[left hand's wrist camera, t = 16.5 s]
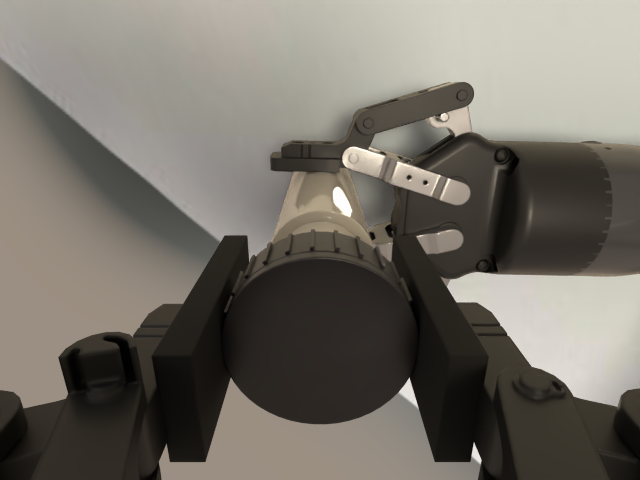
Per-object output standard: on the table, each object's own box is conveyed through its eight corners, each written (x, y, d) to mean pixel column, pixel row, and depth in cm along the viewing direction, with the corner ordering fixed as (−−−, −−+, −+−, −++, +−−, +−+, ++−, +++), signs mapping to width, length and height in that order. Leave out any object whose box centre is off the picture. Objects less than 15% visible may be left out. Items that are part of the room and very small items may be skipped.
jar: (294, 208, 31) (266, 332, 15) (291, 151, 29) (257, 225, 14) (350, 206, 30) (379, 329, 15) (350, 149, 29) (382, 221, 14)
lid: (381, 203, 11) (393, 225, 9) (425, 357, 13) (442, 400, 11) (203, 259, 11) (183, 290, 10) (269, 399, 13) (261, 445, 11)
